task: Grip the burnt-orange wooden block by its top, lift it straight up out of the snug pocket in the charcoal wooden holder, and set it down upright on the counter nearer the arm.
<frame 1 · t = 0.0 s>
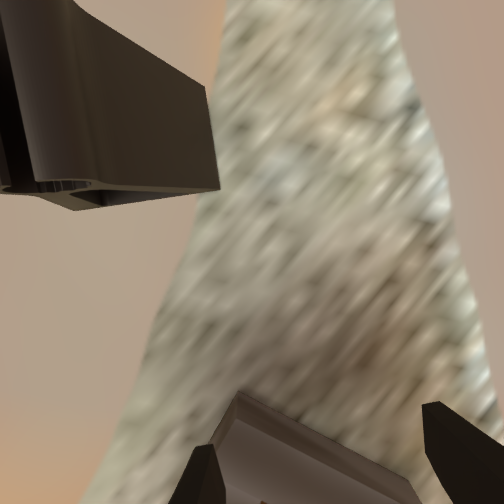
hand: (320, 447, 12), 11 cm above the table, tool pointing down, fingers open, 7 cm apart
phone stand: (141, 151, 21), on the table
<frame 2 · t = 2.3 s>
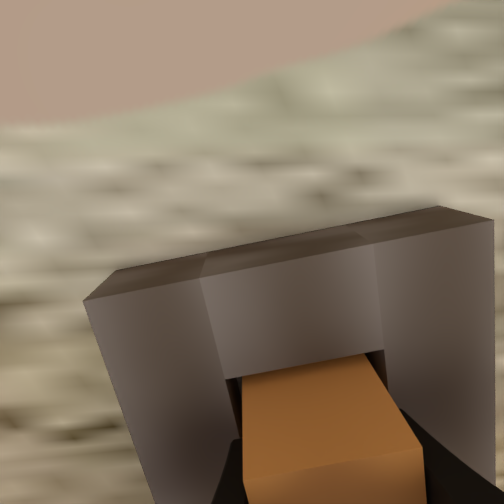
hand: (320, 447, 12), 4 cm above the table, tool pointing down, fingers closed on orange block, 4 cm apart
orange block: (303, 385, 15), resting on pocket holder, touching gripper
pocket holder: (301, 378, 15), on the table
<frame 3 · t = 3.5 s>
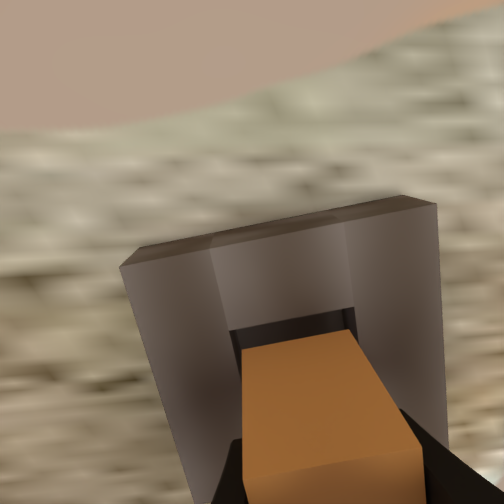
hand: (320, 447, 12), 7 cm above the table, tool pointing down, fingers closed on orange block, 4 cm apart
orange block: (303, 385, 15), point 4 cm above the table, touching gripper
pocket holder: (291, 338, 19), on the table
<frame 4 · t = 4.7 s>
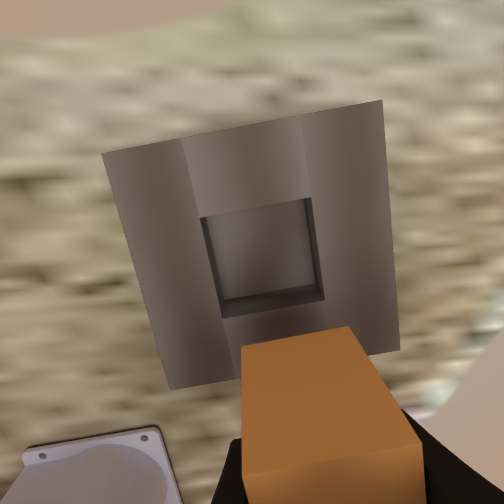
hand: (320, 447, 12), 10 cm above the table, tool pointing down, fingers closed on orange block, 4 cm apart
orange block: (303, 382, 15), point 7 cm above the table, touching gripper
pocket holder: (261, 245, 21), on the table
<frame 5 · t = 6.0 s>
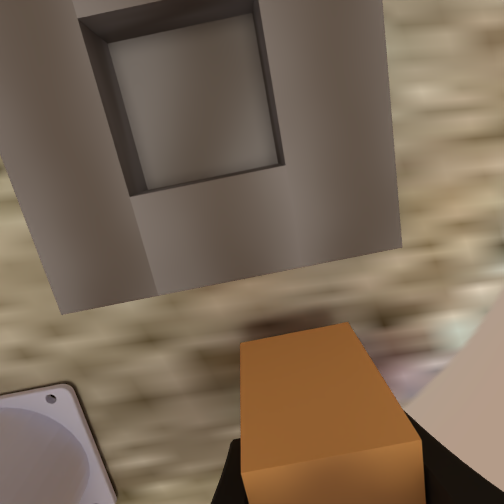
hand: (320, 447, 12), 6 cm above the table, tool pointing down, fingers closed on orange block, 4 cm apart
orange block: (302, 378, 15), point 2 cm above the table, touching gripper
pocket holder: (198, 108, 14), on the table
when the fingers open (5 cm above the table, at t = 7.1 s): orange block drops 2 cm, on the table.
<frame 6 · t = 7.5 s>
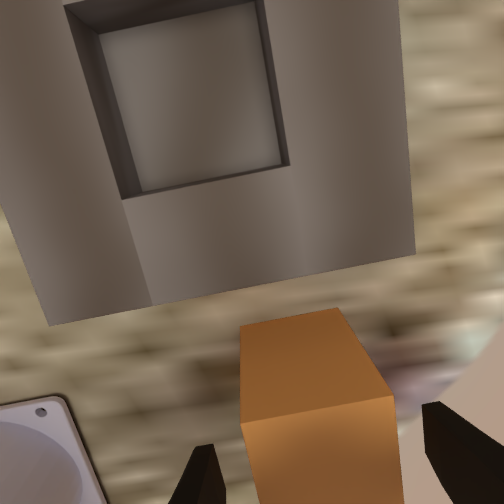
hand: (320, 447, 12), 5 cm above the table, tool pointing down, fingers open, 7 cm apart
orange block: (296, 359, 16), on the table
pocket holder: (196, 104, 13), on the table
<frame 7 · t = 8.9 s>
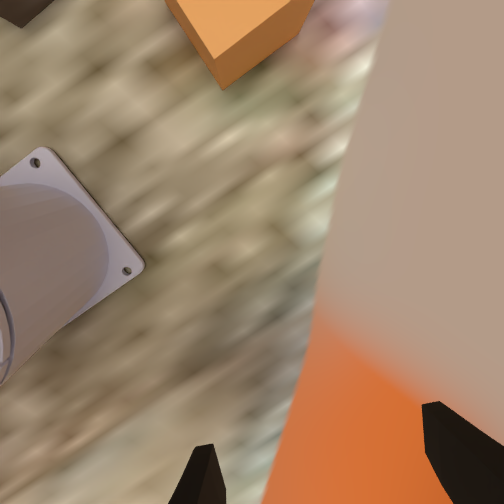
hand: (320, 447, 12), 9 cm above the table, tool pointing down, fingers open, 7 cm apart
orange block: (233, 19, 17), on the table
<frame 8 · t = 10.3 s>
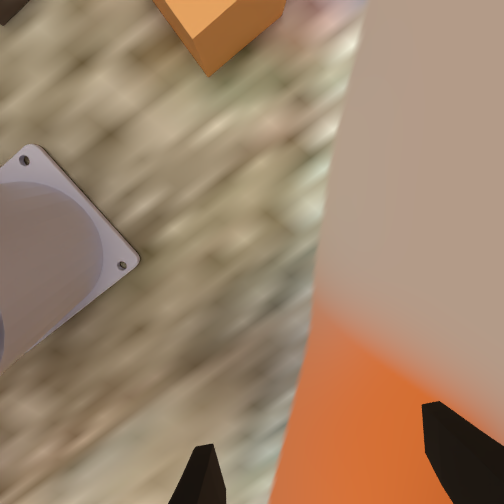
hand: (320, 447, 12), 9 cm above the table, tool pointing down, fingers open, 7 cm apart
orange block: (215, 4, 16), on the table
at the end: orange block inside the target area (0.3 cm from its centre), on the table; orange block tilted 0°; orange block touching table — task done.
